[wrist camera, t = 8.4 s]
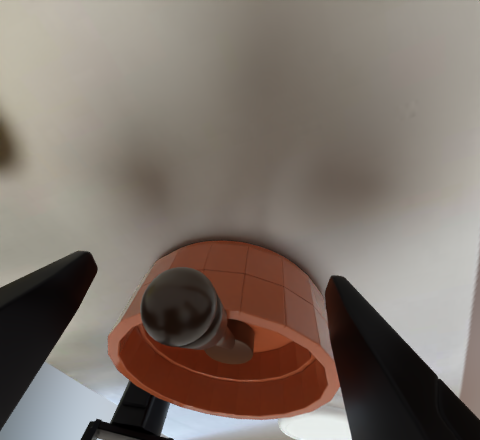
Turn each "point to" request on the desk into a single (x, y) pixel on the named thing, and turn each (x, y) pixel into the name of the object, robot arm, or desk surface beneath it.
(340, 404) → the white round lid
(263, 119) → the desk surface
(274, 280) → the bowl
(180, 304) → the brown utensil
